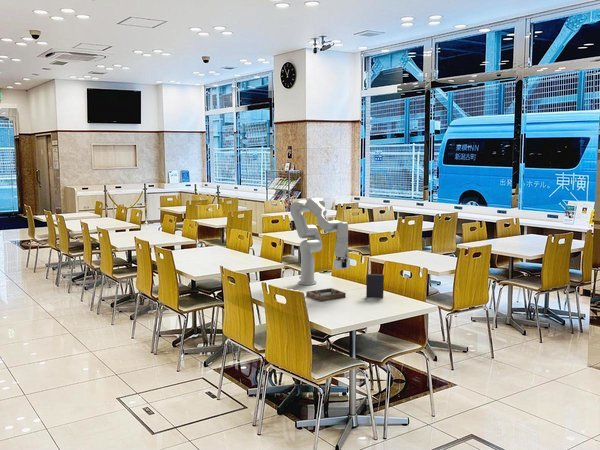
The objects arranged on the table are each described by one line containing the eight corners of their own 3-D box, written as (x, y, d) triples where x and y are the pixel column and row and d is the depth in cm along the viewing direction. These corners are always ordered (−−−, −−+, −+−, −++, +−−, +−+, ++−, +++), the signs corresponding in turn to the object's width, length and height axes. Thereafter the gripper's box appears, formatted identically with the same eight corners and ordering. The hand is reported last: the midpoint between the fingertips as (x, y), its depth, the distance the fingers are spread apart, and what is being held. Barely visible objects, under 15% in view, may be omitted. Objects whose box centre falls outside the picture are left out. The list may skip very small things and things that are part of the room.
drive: (333, 268, 391) (333, 259, 390) (345, 266, 396) (345, 258, 396) (338, 269, 387) (338, 260, 386) (349, 268, 392) (349, 259, 392)
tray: (306, 296, 381) (306, 290, 380) (331, 292, 391) (331, 286, 391) (320, 301, 367) (320, 295, 367) (345, 297, 378) (345, 291, 378)
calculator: (383, 296, 381) (383, 274, 379) (383, 298, 377) (383, 275, 375) (366, 296, 382) (366, 273, 380) (366, 297, 378) (366, 274, 376)
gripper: (330, 238, 394) (329, 265, 397) (345, 242, 380) (344, 269, 382) (339, 238, 398) (338, 264, 401) (354, 241, 384) (353, 268, 386)
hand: (341, 266), depth 391 cm, fingers closed on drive, 5 cm apart
